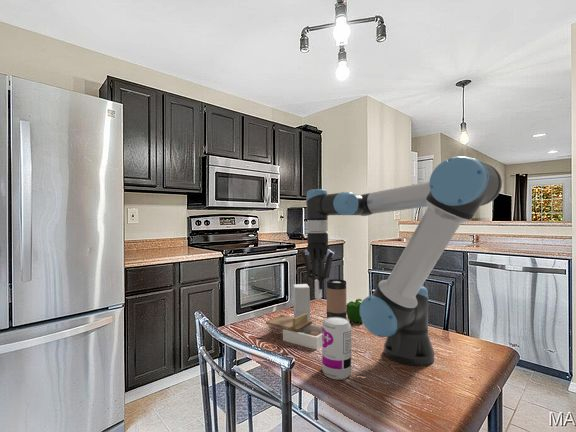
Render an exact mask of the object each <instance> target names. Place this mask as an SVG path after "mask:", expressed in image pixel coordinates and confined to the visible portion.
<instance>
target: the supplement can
mask: <svg viewBox="0 0 576 432" xmlns="http://www.w3.org/2000/svg"><path fill="white" fill-rule="evenodd" d="M350 323H351V322H350V321H349V319H348V318H346V319H345V318H341V317H329V318H327V317H326V318H324V321H323V323H322V325H321V327H322V347H321V350H322V351H321V357H322V358H321V360H322V362H321V363H322V364H321V369H322V373H323V374H324V376H325V377H327V378H329V379H332V380H345V379H347V378H348V377H349V376H351V374H352V325H351V324H350Z"/></svg>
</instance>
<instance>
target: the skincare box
mask: <svg viewBox="0 0 576 432" xmlns="http://www.w3.org/2000/svg"><path fill="white" fill-rule="evenodd" d="M292 285H293V286H292V287H293V288H292V290H293V292H292V294H293V318H295V317H297V316H299V315H302V314H304V313H307V321H311V303H310V302H311V299H310V298H311V297H310V296H311V295H310V294H311V293H310V286H309V285H308V283H299V284H298V283H297V284H295V283H293V284H292Z"/></svg>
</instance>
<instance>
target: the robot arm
mask: <svg viewBox="0 0 576 432" xmlns="http://www.w3.org/2000/svg"><path fill="white" fill-rule="evenodd" d="M502 185H503V179H502V176H501V174H500V172H499V171H498V170H497V169H496V168H495V167H494V166H492V165H490V164H488V163H485V162H483V161H481V160H479V159H477V158H473V157H470V156H453V157H450V158H447V159H445V160H443V161H441V162H440V163H439V164H438V165H437V166H436V167H435V168H434V170H433V171H432V172H431V175H430V177H429V181H426V182H422V183H417V184H416V183H415V184H411V185H406V186H405V185H404V186H400V187H395V188H390V189H384V190H380V191H379V190H378V191H374V192H373V191H372V192H369V193H363V194H355V193H354V192H352V191H348V192H347V191H341V192H337V193H336V192H335V193H329V194H328V191H327V189H323V188H318V189H317V188H316V189H315V188H314V189H313V188H312V189H309V190H308V191H307V192H306V199H305V200H306V203H305V204H306V231H307V235H306V236H307V237H306V240H307V245H306V249H305V250H303V251H301V253H300V254H301V255H302V257H303V261H304V266H305V270H306V271H305V272H306V275H307V277H308V278H309V279H312V289H314V299H315V300H316V299H317V300H320V299H322V298H323V290H324V289H325V280H326V279H329V278H330V274H331V270H332V265H333V258H335V255H336V252H335V251H332V250H331V249H330V247H329V234H328V232H329V231H328V230H329V227H328V224H329V223H328V222H329V221H328V218H329V216H362V217H365V216H367V217H368V216H370V215H375V214H381V213H382V214H383V213H390V212H398V211H405V210H410V209H411V210H414V209H419V208H420V209H421V208H427V209H426V210H425V212H424V214H423V216H422V218H421V220H420V221H419V223H418V225H417V226H416V228H415V229H414V232H413V233H412V235H411V237H410V239H409V241H407V244H406V246H405V247H404V249H403V250H402V253H401V254H400V256H399V258H398V260H397V262H396V263H395V266H394V267H393V268H392V270H391V273H390V274H389V276H388V278H387V279H383V280H380V281H379V282H378V284H377V286H376V288H375V290H374V291H373V293H372V294H371V295H368V296H366V297H365V298H364V299H362V301H360V303H361V305H360V316H361V318H362V322H361V323H362V324H363V326H364V327H365V329H366V330H367V331H368V332H369V333H371V335H373V336H375V337H379V338H385V342H384V346H383V351H384V352H383V353H384V355H385V356H386V357H387V358H388V359H390V360H391V361H393V362H396V363H399V364H403V365H407V366H416V367H417V366H418V367H419V366H420V367H421V366H427V365H430V364H432V363H433V362H434V361H435V351H434V347H433V345H432V342H431V338H430V335H429V299H430V298H429V291H428V289H427V287H425V286H423V285H424V283H425V282H426V280H428V279H427V278H429V275H430V274H431V273H432V271H433V269H434V267H435V266H436V264H437V262H438V261H439V259H440V257H442V255H443V253H444V251H445V250H446V248H447V246H448V245H449V243H450V242H451V240H452V239H453V237H454V235H455V234H456V231H457V230H458V229H459V227H460V225H462V223H467V222H470V221H472V219H473V218H474V216H475V214H476V213H477V212H478V209H479V208H480V207H481V206H485V205H488V204H490V203H492V202H493V201H494V200H495V199H496V198H497V197H498V196H499V195H500V192H501V191H502V187H503V186H502ZM325 258H326V259H325Z"/></svg>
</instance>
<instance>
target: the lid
mask: <svg viewBox="0 0 576 432" xmlns="http://www.w3.org/2000/svg"><path fill="white" fill-rule="evenodd" d="M265 324H266V325H270V326H273V327H276V328H277V327H278V328H281V329H289V330H293V331H297V332H298V331H300V330H301V329H303V328H305V327H307V326H309V325H313V321H311V320H310V321H307V313H304V314H302V315H299V316H297V317H295V318H294V316H288V315H283V314H281V315H278V316H277V317H273V318H272V319H269V320H267V321H265Z"/></svg>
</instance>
